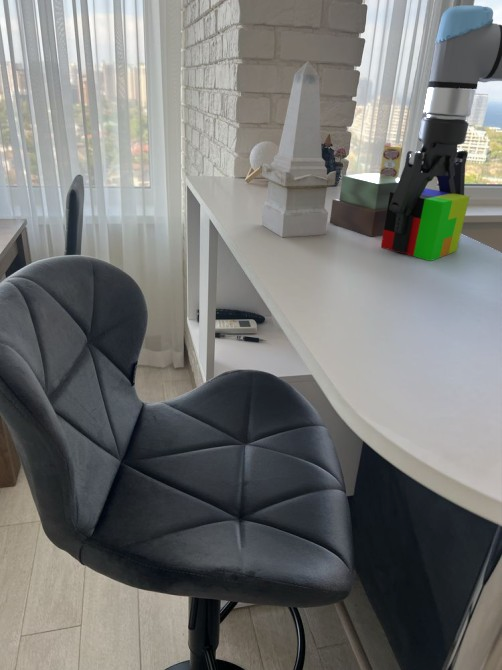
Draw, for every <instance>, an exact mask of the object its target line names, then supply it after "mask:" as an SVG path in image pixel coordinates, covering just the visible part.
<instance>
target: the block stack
mask: <svg viewBox="0 0 502 670" xmlns="http://www.w3.org/2000/svg"><path fill="white" fill-rule="evenodd" d="M399 179H400V177H398V178H396V177H392V176H387V175H382V174H380V173H377V172H374V173H357V174H356V173H355V174H344V175H342V177H341V183H340V190H339V191H340V193H339V198H334V199H332V201H331V209H330V218H329V224H332V225H334V226H338V227H341V228H344V229H346V230H350V231H352V232H356V233H358V234H362V235H365V236H367V237H370V238H371V237H378V236H383V232H384V226H385V220H386V214H387V208H388V202H389V196H390V192H394V191H395V190H396V187H397V185H398V182H399Z"/></svg>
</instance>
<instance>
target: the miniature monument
mask: <svg viewBox="0 0 502 670" xmlns="http://www.w3.org/2000/svg"><path fill="white" fill-rule="evenodd" d="M322 152H323V151H322V125H321V97H320V75H319V74H318V72H317V71H316V70H315V68H314V67H313V65H312V64H311V63H310V61H309V60H307V61H306V62H305V63H304V64H303V65H302V66H301V67H300V68H299V69H298V70H297V72H295V73H294V76H293V81H292V85H291V90H290V95H289V100H288V104H287V109H286V114H285V118H284V122H283V128H282V132H281V137H280V142H279V148H278V151H277V154H275V155H274V156H273V161H272V162H271V163H270V166H269V164H267V163H264V162H263V163H262V168H261V177H263V178H264V179H266V180H267V183H268V184H267V196H266V197H267V198H266V201H264V203H262V215H261V217H262V218H261V226H263V227H265V228H266V229H268V230H269V231H271V232H272V233H274V234H276V235H278V236H279V237H281V238H292V237H294V238H295V237H307V236H324V235H325V236H326V232H327V224H328V217H329V212H328V211H327V209H326V208H325V207H326V197H327V188H329V187H332V186H335V185H336V179H337V178H336V177H337V170H334V171H330V172H329V173H328V168H327V167H326V160H325V159H324V158H323V154H322ZM327 173H328V174H327Z"/></svg>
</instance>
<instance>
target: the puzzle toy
mask: <svg viewBox="0 0 502 670" xmlns="http://www.w3.org/2000/svg"><path fill="white" fill-rule="evenodd" d="M394 192H395V191H394ZM394 192H390V196H389V202H388V208H387V214H386V220H385V226H384V232H383V235H382V239H381V243H380V248H383V249H386V250H390V251H393V252H396V253H400V254H404V255H408V256H411V257H415V258H419V259H423V260H426V261H430V262H431V261H434V260H437V259H439V258H442V257H445V256H447V255H451V254H453V253H455V252H457V251H458V248H459V244H460V243H459V242H460V239H461V234H462V230H463V226H464V223H465V217H466V215H467V210H468V205H469V201H470V198H471V196H470V195H465V194H464V195H460V194H454V193H453V194H450V193H445V192H441V191H440V190H439V189H438V190H437V189H431V188H427V187H425V189H424V191H423V192H422V194H421V196H420V197H418V200H417V203H416V205H415V207H414V208H413V210H412V212H411V214H410V215H412V216H413V221H412V226H411V232H410V237H409V242H408V247H407V252H406V253H402V252H399V251H396V250H393V249H392V245H393V240H394V234H395V232H394V228H395V222H396V217H397V214H396V213H395V212H392V210H389V206H390V203H391V200H392V198H393V195H394ZM397 204H399V203H397ZM406 208H407V205H406Z"/></svg>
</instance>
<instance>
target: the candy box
mask: <svg viewBox="0 0 502 670" xmlns="http://www.w3.org/2000/svg"><path fill="white" fill-rule="evenodd" d="M402 153H403V143H394V142H385V143H384V146H383V151H382V156H381V163H380V168H379V174H382V175H387V176H392V177H396V178H399V174H400V169H401V168H400V167H401V161H402Z"/></svg>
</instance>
